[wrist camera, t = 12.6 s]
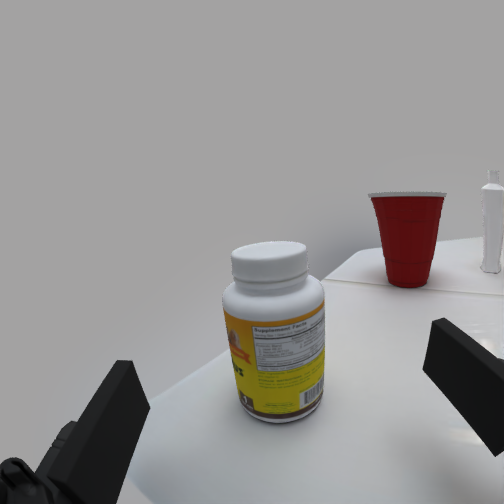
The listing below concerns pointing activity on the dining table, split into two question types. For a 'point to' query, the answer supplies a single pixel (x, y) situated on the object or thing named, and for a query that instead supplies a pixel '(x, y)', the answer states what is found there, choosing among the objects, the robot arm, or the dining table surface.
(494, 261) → the perfume bottle
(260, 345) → the supplement bottle
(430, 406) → the dining table surface
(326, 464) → the dining table surface
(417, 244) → the plastic cup
